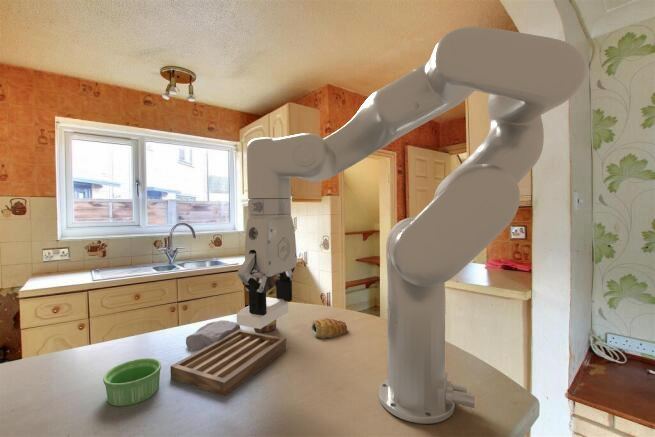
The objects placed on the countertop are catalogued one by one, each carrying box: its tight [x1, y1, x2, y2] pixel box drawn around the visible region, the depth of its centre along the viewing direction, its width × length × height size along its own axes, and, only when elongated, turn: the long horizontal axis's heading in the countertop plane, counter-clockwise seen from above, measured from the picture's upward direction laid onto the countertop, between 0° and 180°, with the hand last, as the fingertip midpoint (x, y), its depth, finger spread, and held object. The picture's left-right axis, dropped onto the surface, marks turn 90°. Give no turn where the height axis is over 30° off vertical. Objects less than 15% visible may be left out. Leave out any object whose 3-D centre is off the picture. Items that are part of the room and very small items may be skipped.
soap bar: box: [236, 297, 289, 329], centre depth 58 cm, size 5×9×3 cm, turn 155°
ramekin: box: [102, 357, 162, 407], centre depth 57 cm, size 9×9×4 cm
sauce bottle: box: [253, 272, 277, 333], centre depth 86 cm, size 6×6×20 cm
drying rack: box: [169, 328, 287, 397], centre depth 68 cm, size 14×20×2 cm
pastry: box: [311, 317, 348, 339], centre depth 83 cm, size 9×7×4 cm
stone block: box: [185, 319, 241, 352], centre depth 79 cm, size 12×5×10 cm
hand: (272, 306), depth 57 cm, fingers closed on soap bar, 7 cm apart
